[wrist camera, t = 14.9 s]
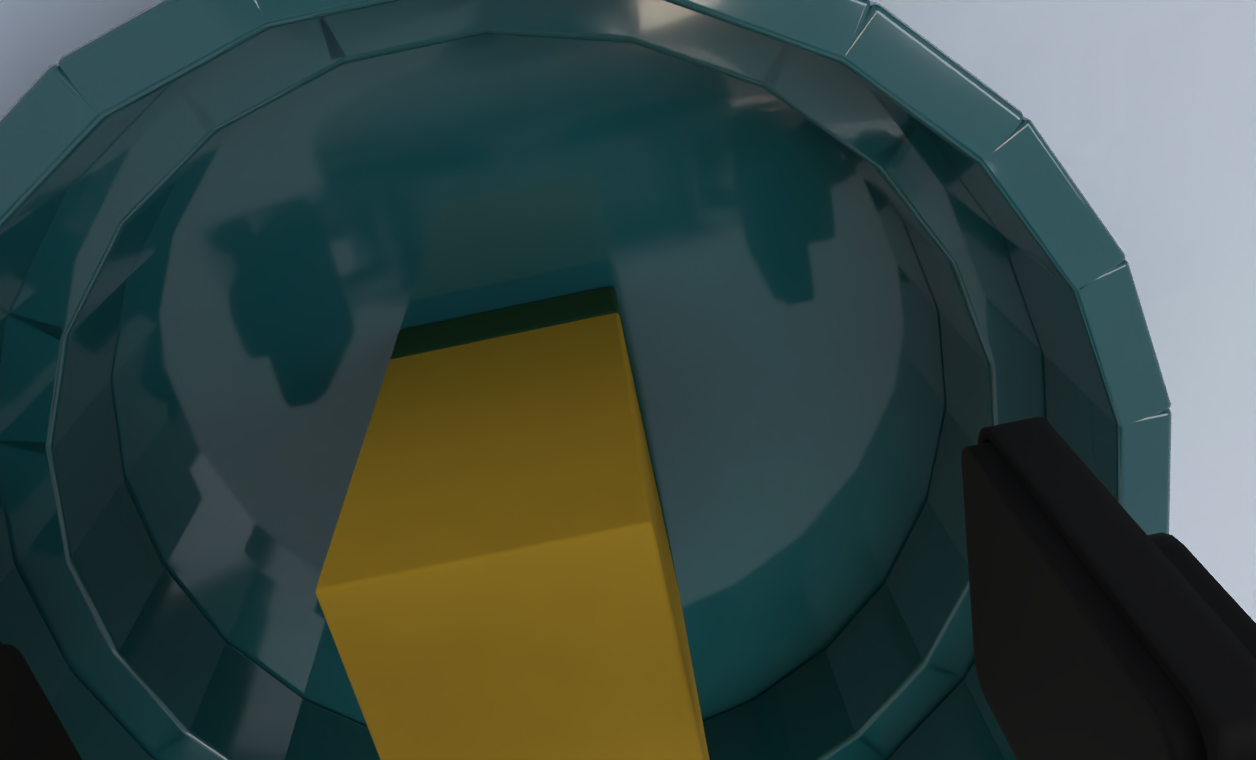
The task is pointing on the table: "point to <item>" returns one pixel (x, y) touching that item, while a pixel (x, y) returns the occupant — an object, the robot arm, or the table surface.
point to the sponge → (512, 550)
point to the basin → (524, 273)
